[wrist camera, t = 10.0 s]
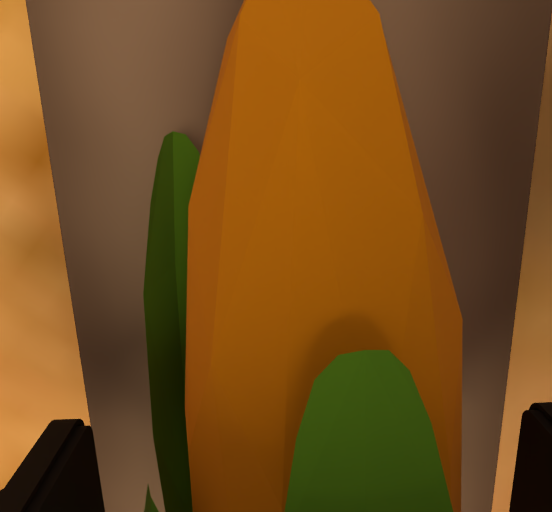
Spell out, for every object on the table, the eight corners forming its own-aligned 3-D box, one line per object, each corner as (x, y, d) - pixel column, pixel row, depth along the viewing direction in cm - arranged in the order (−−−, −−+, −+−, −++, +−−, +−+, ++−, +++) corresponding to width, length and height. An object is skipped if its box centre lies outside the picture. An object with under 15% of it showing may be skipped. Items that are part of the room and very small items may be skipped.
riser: (486, -58, 14) (567, -122, 10) (433, 573, 21) (471, 675, 17) (78, -49, 14) (9, -110, 10) (156, 584, 21) (131, 690, 17)
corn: (159, 1080, 9) (-192, -269, 3) (191, 650, 16) (94, -8, 11) (539, 1003, 10) (763, -271, 4) (405, 621, 17) (419, -22, 11)
